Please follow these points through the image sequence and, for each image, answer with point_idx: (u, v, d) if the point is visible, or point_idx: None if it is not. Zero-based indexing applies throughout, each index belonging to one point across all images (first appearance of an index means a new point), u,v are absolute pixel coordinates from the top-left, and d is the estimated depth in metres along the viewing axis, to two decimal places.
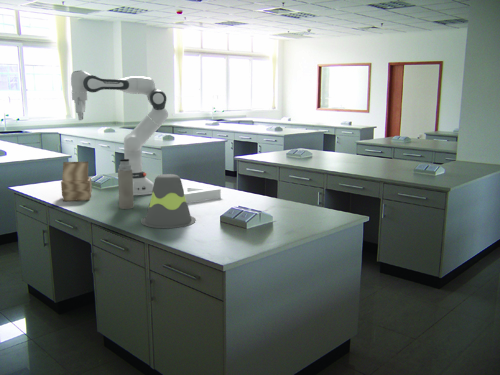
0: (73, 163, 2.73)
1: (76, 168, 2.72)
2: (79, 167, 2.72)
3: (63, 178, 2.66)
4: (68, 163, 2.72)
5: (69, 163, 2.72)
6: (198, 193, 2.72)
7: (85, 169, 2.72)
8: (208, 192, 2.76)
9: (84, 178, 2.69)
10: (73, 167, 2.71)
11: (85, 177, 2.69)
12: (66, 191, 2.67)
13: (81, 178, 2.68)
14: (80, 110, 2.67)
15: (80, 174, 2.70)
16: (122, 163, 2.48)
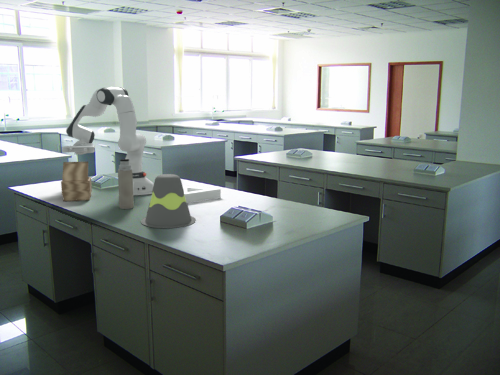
0: (73, 163, 2.73)
1: (76, 168, 2.72)
2: (79, 167, 2.72)
3: (63, 178, 2.66)
4: (68, 163, 2.72)
5: (69, 163, 2.72)
6: (198, 193, 2.72)
7: (85, 169, 2.72)
8: (208, 192, 2.76)
9: (84, 178, 2.69)
10: (73, 167, 2.71)
11: (85, 177, 2.69)
12: (66, 191, 2.67)
13: (81, 178, 2.68)
14: (62, 148, 2.90)
15: (80, 174, 2.70)
16: (122, 163, 2.48)
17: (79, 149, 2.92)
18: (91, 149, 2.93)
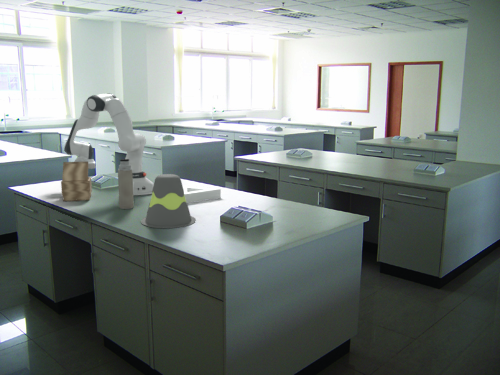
0: (73, 163, 2.73)
1: (76, 168, 2.72)
2: (79, 167, 2.72)
3: (63, 178, 2.66)
4: (68, 163, 2.72)
5: (69, 163, 2.72)
6: (198, 193, 2.72)
7: (85, 169, 2.72)
8: (208, 192, 2.76)
9: (84, 178, 2.69)
10: (73, 167, 2.71)
11: (85, 177, 2.69)
12: (66, 191, 2.67)
13: (81, 178, 2.68)
14: None
15: (80, 174, 2.70)
16: (122, 163, 2.48)
17: None
18: (92, 165, 2.93)
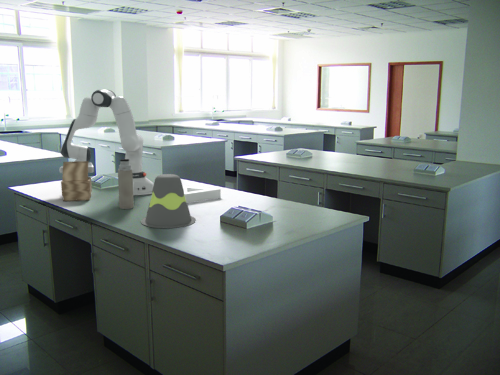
0: (73, 163, 2.73)
1: (76, 168, 2.71)
2: (79, 167, 2.72)
3: (63, 178, 2.66)
4: (68, 163, 2.72)
5: (69, 163, 2.72)
6: (198, 193, 2.71)
7: (85, 169, 2.72)
8: (208, 192, 2.76)
9: (84, 178, 2.69)
10: (72, 167, 2.71)
11: (85, 176, 2.69)
12: (66, 191, 2.67)
13: (81, 178, 2.68)
14: None
15: (80, 174, 2.70)
16: (122, 163, 2.48)
17: None
18: (90, 169, 2.78)
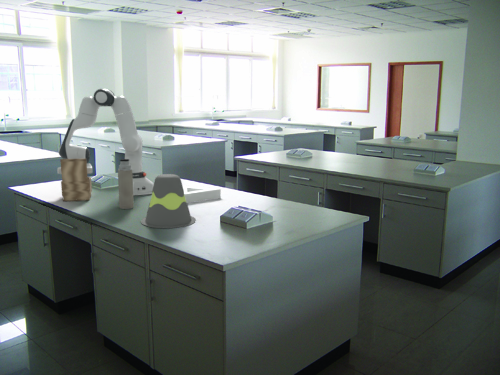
0: (71, 161, 2.62)
1: (75, 167, 2.64)
2: (77, 166, 2.64)
3: (63, 179, 2.64)
4: (65, 161, 2.61)
5: (66, 161, 2.61)
6: (198, 193, 2.71)
7: (84, 168, 2.65)
8: (208, 192, 2.76)
9: (84, 179, 2.68)
10: (71, 166, 2.63)
11: (85, 177, 2.67)
12: (66, 191, 2.67)
13: (81, 179, 2.67)
14: (57, 169, 2.69)
15: (80, 174, 2.66)
16: (122, 163, 2.48)
17: None
18: (88, 170, 2.72)
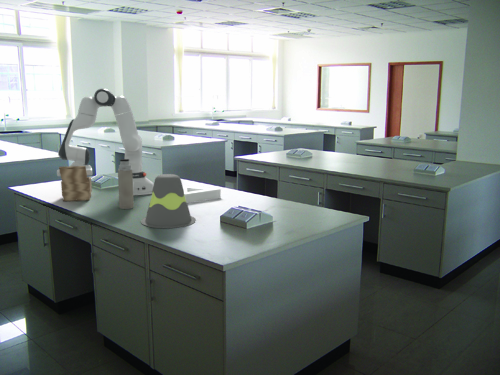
0: (70, 169, 2.57)
1: (74, 172, 2.60)
2: (77, 172, 2.60)
3: (63, 180, 2.64)
4: (64, 169, 2.56)
5: (65, 169, 2.56)
6: (198, 193, 2.71)
7: (83, 173, 2.62)
8: (208, 192, 2.76)
9: (84, 180, 2.67)
10: (70, 172, 2.59)
11: (85, 179, 2.67)
12: (66, 191, 2.67)
13: (81, 180, 2.67)
14: (57, 171, 2.66)
15: (80, 177, 2.64)
16: (122, 163, 2.48)
17: None
18: (88, 172, 2.69)
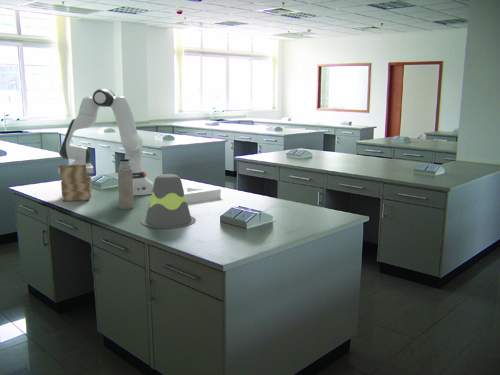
0: (70, 167, 2.57)
1: (74, 171, 2.61)
2: (77, 170, 2.61)
3: (63, 180, 2.64)
4: (64, 167, 2.57)
5: (65, 167, 2.57)
6: (198, 193, 2.71)
7: (83, 172, 2.62)
8: (208, 192, 2.76)
9: (84, 180, 2.67)
10: (70, 171, 2.60)
11: (85, 179, 2.67)
12: (66, 191, 2.67)
13: (81, 180, 2.67)
14: None
15: (80, 177, 2.65)
16: (122, 163, 2.48)
17: None
18: (89, 170, 2.74)
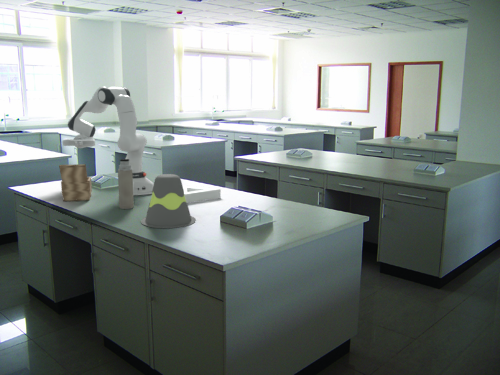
0: (70, 167, 2.57)
1: (74, 171, 2.61)
2: (77, 170, 2.61)
3: (63, 180, 2.64)
4: (64, 167, 2.57)
5: (65, 167, 2.57)
6: (198, 193, 2.71)
7: (83, 172, 2.62)
8: (208, 192, 2.76)
9: (84, 180, 2.67)
10: (70, 171, 2.60)
11: (85, 179, 2.67)
12: (66, 191, 2.67)
13: (81, 180, 2.67)
14: None
15: (80, 177, 2.65)
16: (122, 163, 2.48)
17: None
18: (91, 143, 2.96)
